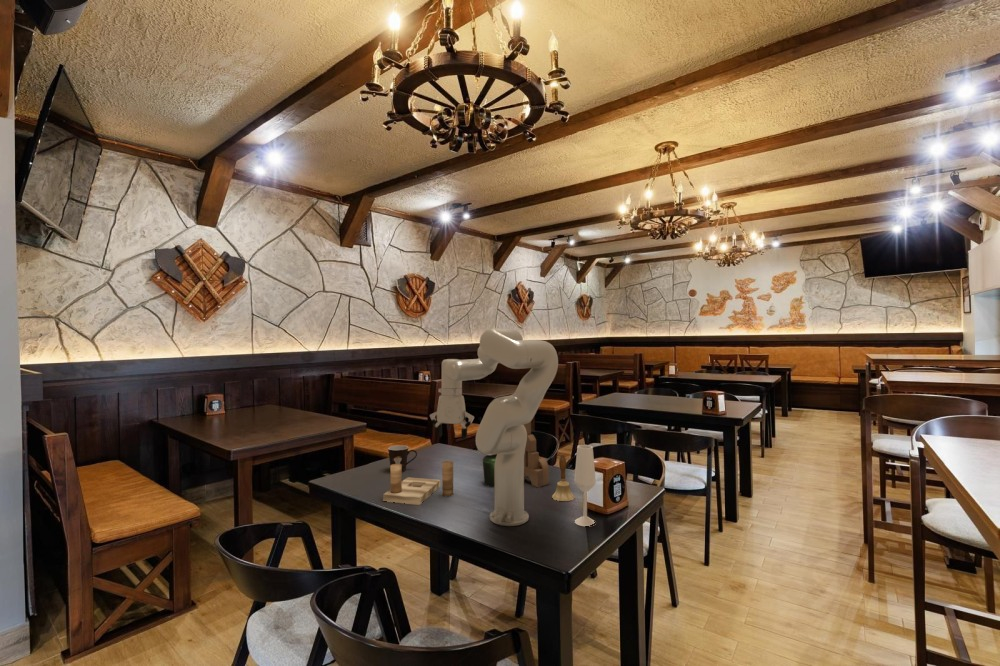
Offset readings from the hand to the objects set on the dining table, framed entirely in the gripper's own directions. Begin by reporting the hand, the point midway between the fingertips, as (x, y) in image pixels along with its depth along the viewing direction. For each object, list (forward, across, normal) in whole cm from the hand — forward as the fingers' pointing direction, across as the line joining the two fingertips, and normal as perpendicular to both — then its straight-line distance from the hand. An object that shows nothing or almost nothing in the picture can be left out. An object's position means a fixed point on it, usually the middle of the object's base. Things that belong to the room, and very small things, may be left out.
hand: (451, 437), depth 172 cm
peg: (+21, -1, -2) cm, 21 cm away
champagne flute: (+21, +50, -13) cm, 56 cm away
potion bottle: (+21, +12, +15) cm, 28 cm away
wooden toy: (+21, +26, +22) cm, 40 cm away
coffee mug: (+21, -31, +21) cm, 43 cm away
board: (+21, -14, -4) cm, 25 cm away
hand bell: (+21, +41, +7) cm, 46 cm away
